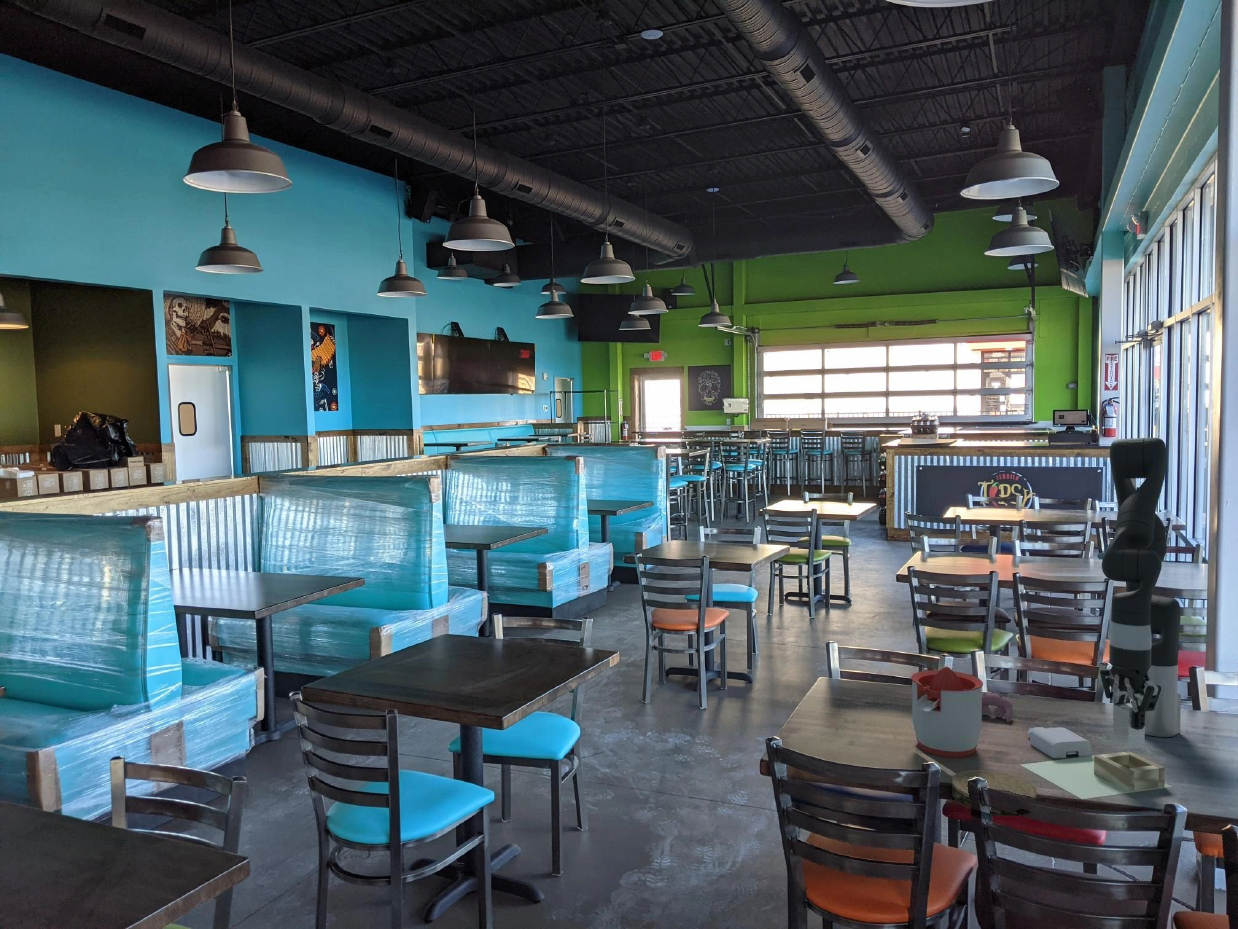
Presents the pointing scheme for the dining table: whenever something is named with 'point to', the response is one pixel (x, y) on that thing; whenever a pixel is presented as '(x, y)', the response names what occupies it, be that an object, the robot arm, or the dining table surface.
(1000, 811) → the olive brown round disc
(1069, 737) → the charger
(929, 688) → the citrus juicer
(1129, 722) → the peg
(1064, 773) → the board
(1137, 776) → the shallow wooden crate
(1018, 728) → the dining table surface
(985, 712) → the video game controller
